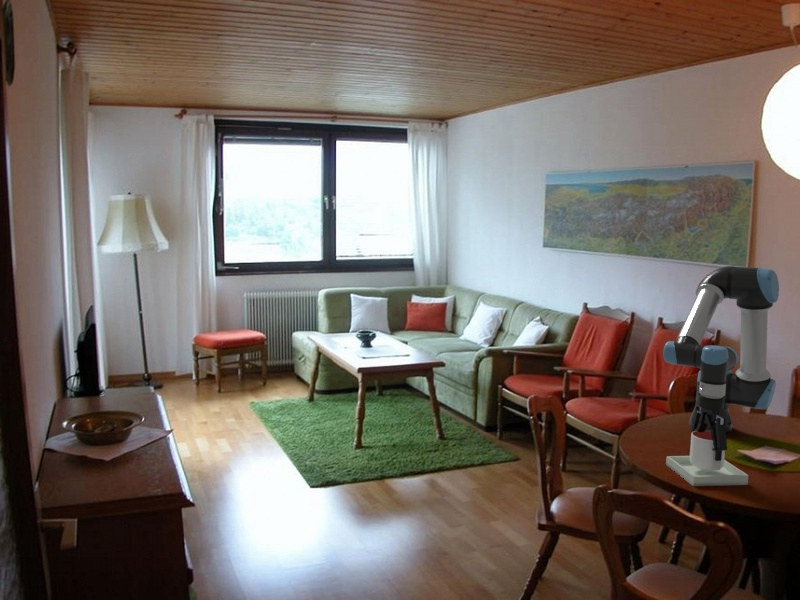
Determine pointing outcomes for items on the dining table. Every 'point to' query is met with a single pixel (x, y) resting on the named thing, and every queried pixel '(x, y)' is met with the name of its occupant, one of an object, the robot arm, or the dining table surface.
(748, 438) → the dining table surface
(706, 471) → the tray
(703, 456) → the cup
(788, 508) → the dining table surface
